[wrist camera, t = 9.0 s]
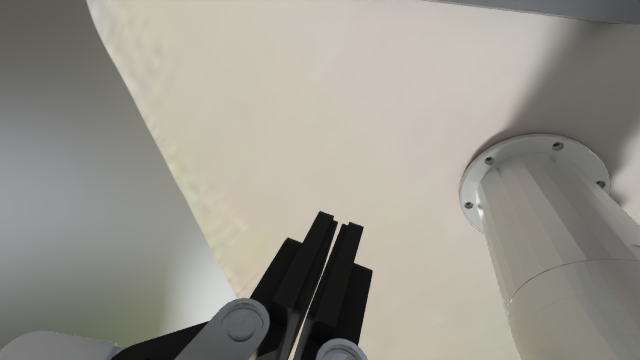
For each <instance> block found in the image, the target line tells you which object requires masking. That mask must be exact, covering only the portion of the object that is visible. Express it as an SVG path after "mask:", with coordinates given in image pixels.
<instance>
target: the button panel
mask: <svg viewBox="0 0 640 360" xmlns="http://www.w3.org/2000/svg"><path fill="white" fill-rule="evenodd" d="M423 1H432V2H440V3H448V4H457V5H465V6H473V7H481V8H490V9H498V10H506V11H515V12H523V13H531V14H540V15H548V16H556V17H564V18H573V19H581V20H589V21H598V22H606V23H614V24H640V0H423Z"/></svg>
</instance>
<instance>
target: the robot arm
mask: <svg viewBox="0 0 640 360" xmlns="http://www.w3.org/2000/svg"><path fill="white" fill-rule="evenodd" d="M556 142H557V144H556V145H553V144H554V143H556ZM488 157H491V158H490V159H486V158H488ZM609 189H610V181H609V174H608V172H607V169H606V167H605V165H604V163H603V162H602V161H601V160H600V158H599V157H598V156H597V155H596V154H595V153H594V152H593V151H591V150H590V149H589V148H588V147H586V146H585V145H583V144H581V143H579V142H578V141H576V140H573V139H570V138H567V137H564V136H560V135H553V134H528V135H522V136H516V137H513V138H510V139H507V140H504V141H502V142H499V143H497V144H495V145H493V146H491V147H490V148H488V149H487V150H485V151H484V152H482V153H481V154H480V155H479V156H478V157H477V158H476V159H475V160H474V161H473V162H472V163H471V164H470V165H469V167H468V168H467V170H466V171H465V173H464V175H463V177H462V180H461V183H460V189H459V197H460V204H461V208H462V211H463V213H464V215H465V217H466V218H467V220H468V221H469V222H470V224H471V225H472V226H473V227H474V228H476V229H477V230H478V231H479V232H481V233H483V234H484V235H485V237H486V241H487V245H488V248H489V252H490V256H491V259H492V263H493V267H494V271H495V274H496V278H497V282H498V285H499V289H500V293H501V296H502V300H503V304H504V307H505V311H506V315H507V318H508V322H509V325H510V328H511V332H512V335H513V339H514V342H515V345H516V348H517V350H518V352H519V354H520V357H521V358H522V360H640V226H639V225H638V224H637V223H636V222H635V221H634V220H633V219H632V218H631V217H630V216H629V215H628V214H627V213H626V212H625V211H624V210H623V209H622V208H621V207H620V206H619V205H618V204H617V203H616V202H615V201H614V200H613V199H612V198H611V197H610V196H609ZM467 202H469V203H467ZM333 218H334V216H332V215H330V214H327V213H324V212H321V211H320V212H319V213H318V215H317V217H316V219H315V221H314V222H313V224H312V226H311V228H310V230H309V232H308V234H307V236H306V237H305V239H304V241H303V243H301V242H298V241H296V240H293V239H291V238H287V239H286V240H285V241H284V243H283V245H282V246H281V248H280V250H279V251H278V253H277V254H276V256H275V258H274V259H273V261H272V262H271V264H270V266H269V267H268V269H267V271H266V272H265V274H264V275H263V277H262V279H261V280H260V282H259V284H258V285H257V287H256V288H255V290H254V292H253V293H252V295H251V296H250V298H249V299H248V298H241V299H236V300H233V301H231V302H229V303H227V304H226V305H225V306H223V307H222V308H221V309H220V310H219V312H218V313H217V314H216V315H215V316H214V317H213V318H212V319H211V320H210V321H207V322H204V323H201V324H198V325H195V326H192V327H189V328H185V329H182V330H179V331H176V332H173V333H170V334H167V335H163V336H160V337H157V338H154V339H151V340H148V341H144V342H141V343H138V344H135V345H132V346H130V347H128V348H126V347H120V346H117V344H116V343H115V342H109V341H103V340H97V339H92V338H86V337H79V336H74V335H68V334H62V333H56V332H50V331H35V332H32V333H28V334H25V335H22V336H20V337H19V338H17V339H15V340H13V341H11V342H10V343H9V344H7V345H6V346H5V347H4V348H3V349H1V350H0V360H288V358H289V356H290V353H291V351H292V348H293V346H294V343H295V341H296V338H297V336H298V333H299V331H300V328H301V325H302V323H303V320H304V318H305V315H306V313H307V310H308V308H309V305H310V303H311V300H312V298H313V295H314V293H315V295H314V298H313V300H312V303H311V305H310V308H309V311H308V313H307V316H306V319H305V322H304V326H303V329H302V332H301V335H300V339H299V342H298V345H297V348H296V352H295V355H294V358H293V360H368V359H367V357H366V355H365V354H364V353H363V351H362V350H361V348H359V347H358V343H359V338H360V333H361V328H362V323H363V318H364V313H365V308H366V303H367V298H368V293H369V288H370V283H371V278H372V270H371V269H368V268H366V267H363V266H360V265H358V264H355V263H354V260H355V256H356V253H357V249H358V246H359V242H360V239H361V235H362V232H363V228H364V227H362V226H360V225H357V224H354V223H352V222H349V224H348V225H345V224H342V226H341V229H340V231H339V234H338V236H337V239H336V241H335V244H334V246H333V249H332V252H331V254H330V257H329V259H328V262H327V264H326V267H325V269H324V265H325V262H326V259H327V256H328V253H329V249H330V246H331V243H332V240H333V237H334V234H335V230H336V227H337V224H338V222H337V221H334V220H333ZM323 269H324V272H323ZM322 272H323V275H322V277H321V274H322ZM320 277H321V280H320ZM319 280H320V282H319ZM318 282H319V285H318ZM317 285H318V287H317ZM316 287H317V290H316ZM315 290H316V292H315Z"/></svg>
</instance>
